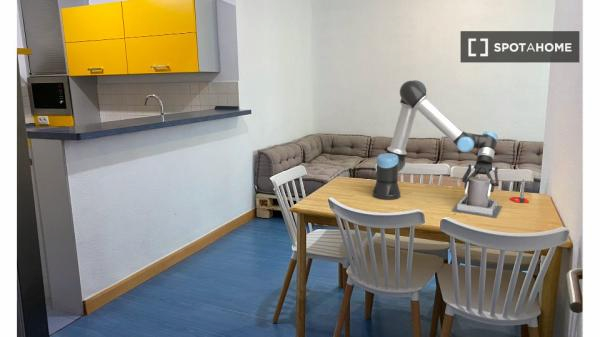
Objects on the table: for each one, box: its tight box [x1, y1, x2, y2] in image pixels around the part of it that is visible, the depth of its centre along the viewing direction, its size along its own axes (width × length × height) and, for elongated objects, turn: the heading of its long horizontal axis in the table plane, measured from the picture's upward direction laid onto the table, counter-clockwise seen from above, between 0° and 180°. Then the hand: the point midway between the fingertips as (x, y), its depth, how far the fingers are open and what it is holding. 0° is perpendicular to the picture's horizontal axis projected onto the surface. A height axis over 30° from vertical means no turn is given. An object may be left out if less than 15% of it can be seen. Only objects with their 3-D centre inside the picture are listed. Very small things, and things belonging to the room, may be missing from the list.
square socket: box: [451, 195, 503, 219], centre depth 203 cm, size 20×18×4 cm
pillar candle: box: [467, 175, 491, 207], centre depth 201 cm, size 10×10×15 cm
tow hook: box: [509, 178, 530, 204], centre depth 216 cm, size 8×13×9 cm
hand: (477, 195), depth 199 cm, fingers closed on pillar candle, 9 cm apart
